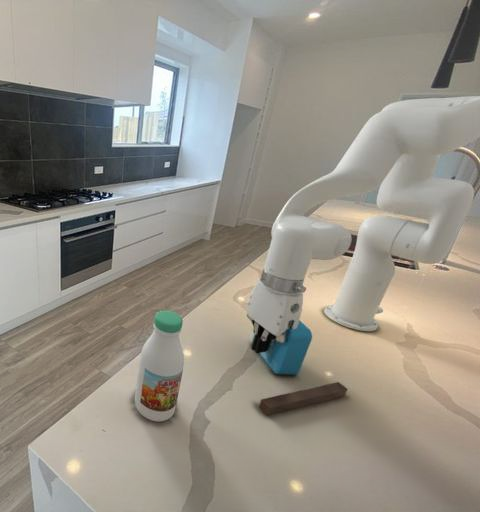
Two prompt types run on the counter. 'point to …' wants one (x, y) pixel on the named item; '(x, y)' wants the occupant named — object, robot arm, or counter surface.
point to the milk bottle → (160, 369)
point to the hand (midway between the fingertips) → (258, 350)
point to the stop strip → (302, 398)
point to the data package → (289, 351)
